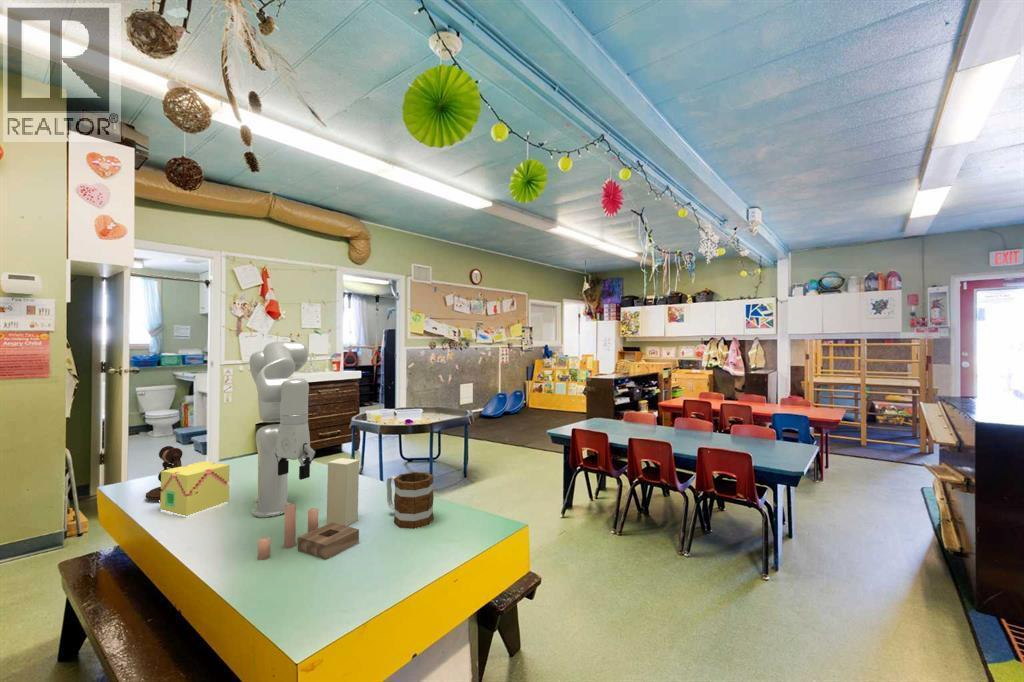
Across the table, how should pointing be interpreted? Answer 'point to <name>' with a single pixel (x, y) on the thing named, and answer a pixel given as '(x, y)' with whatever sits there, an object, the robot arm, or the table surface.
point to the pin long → (290, 525)
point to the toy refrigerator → (342, 491)
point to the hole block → (328, 540)
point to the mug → (411, 499)
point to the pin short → (263, 548)
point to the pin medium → (312, 519)
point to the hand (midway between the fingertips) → (293, 476)
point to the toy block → (194, 487)
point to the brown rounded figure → (168, 456)
